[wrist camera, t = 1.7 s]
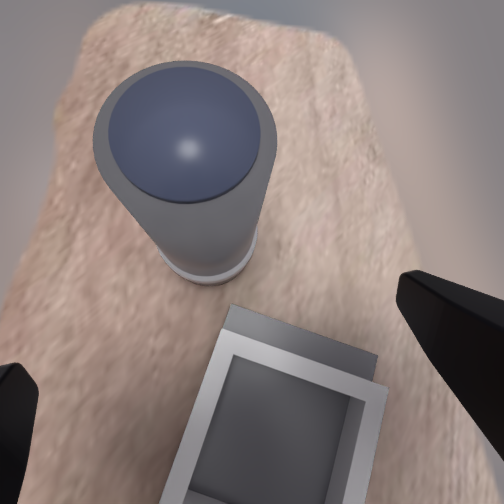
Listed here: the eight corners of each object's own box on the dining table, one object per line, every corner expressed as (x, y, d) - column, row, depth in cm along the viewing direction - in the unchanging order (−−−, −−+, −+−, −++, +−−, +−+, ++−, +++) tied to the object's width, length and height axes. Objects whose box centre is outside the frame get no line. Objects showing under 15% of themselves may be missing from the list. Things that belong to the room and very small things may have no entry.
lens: (235, 301, 20) (248, 256, 8) (153, 272, 20) (41, 182, 8) (263, 223, 21) (310, 83, 9) (186, 196, 21) (132, 22, 9)
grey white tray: (316, 585, 16) (335, 640, 14) (152, 525, 17) (136, 567, 14) (370, 354, 20) (395, 358, 17) (231, 305, 20) (231, 300, 17)
